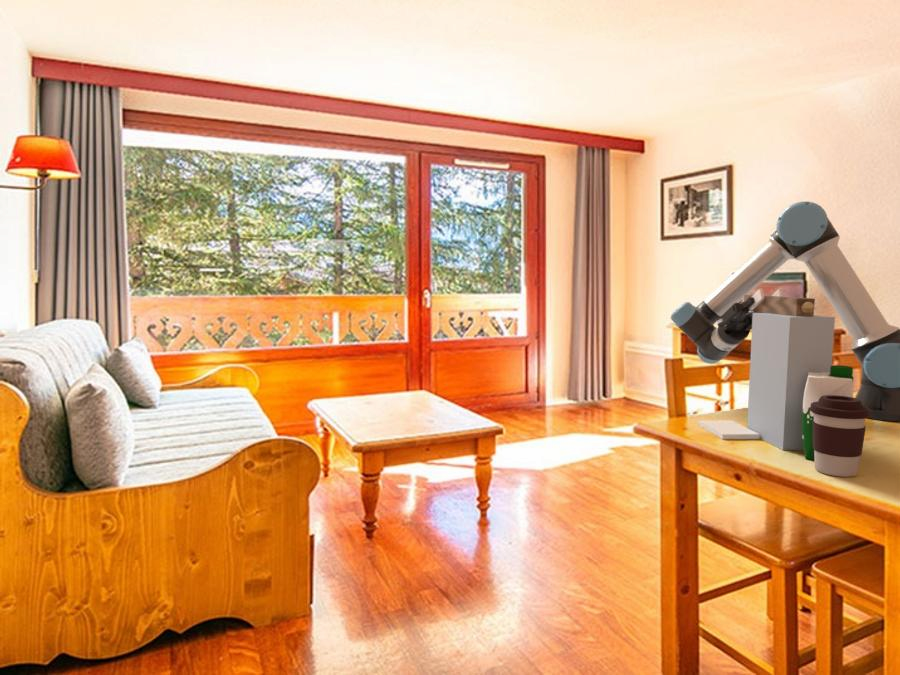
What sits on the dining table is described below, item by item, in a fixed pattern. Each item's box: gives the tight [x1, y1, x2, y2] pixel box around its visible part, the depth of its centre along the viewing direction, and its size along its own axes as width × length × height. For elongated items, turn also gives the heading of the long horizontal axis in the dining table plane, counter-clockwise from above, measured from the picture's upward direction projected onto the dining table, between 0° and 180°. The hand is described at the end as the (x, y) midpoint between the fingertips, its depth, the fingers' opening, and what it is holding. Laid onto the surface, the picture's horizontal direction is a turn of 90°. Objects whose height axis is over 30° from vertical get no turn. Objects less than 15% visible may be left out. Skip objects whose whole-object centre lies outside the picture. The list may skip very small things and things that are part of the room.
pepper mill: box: [743, 294, 816, 316], centre depth 148 cm, size 26×4×4 cm, turn 1°
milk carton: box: [802, 364, 854, 461], centre depth 131 cm, size 9×9×20 cm
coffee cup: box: [810, 395, 870, 478], centre depth 121 cm, size 10×10×15 cm
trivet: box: [697, 419, 761, 440], centre depth 153 cm, size 14×9×1 cm, turn 1°
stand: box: [746, 313, 836, 451], centre depth 144 cm, size 16×10×30 cm, turn 1°
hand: (771, 293), depth 151 cm, fingers closed on pepper mill, 4 cm apart
